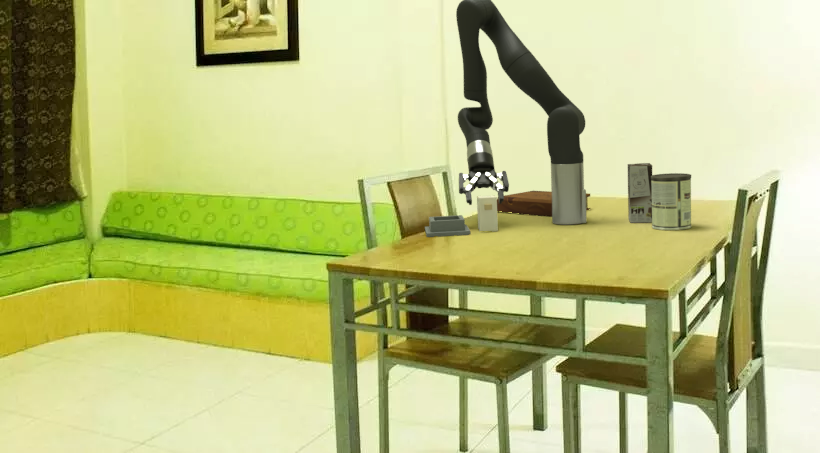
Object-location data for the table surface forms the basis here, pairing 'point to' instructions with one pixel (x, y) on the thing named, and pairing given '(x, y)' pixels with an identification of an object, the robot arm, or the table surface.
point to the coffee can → (671, 201)
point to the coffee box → (639, 192)
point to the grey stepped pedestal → (447, 226)
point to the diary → (530, 203)
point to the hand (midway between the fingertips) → (485, 202)
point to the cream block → (487, 213)
